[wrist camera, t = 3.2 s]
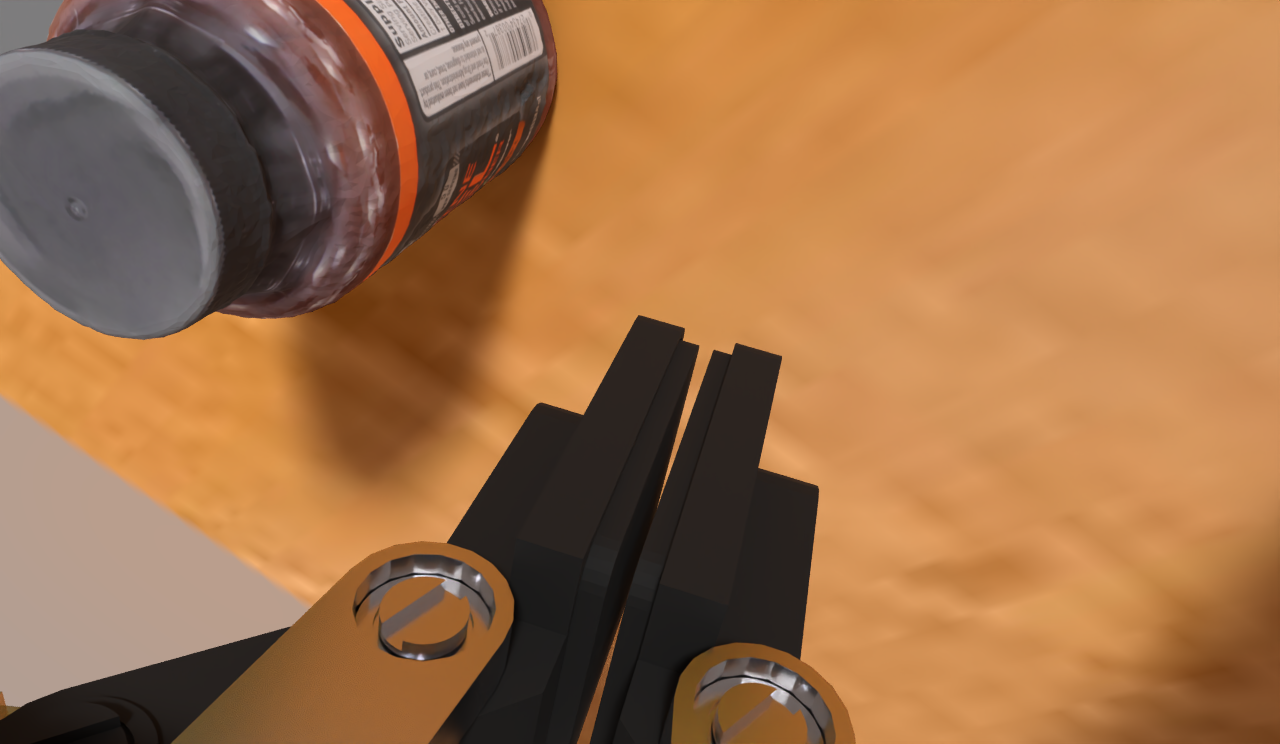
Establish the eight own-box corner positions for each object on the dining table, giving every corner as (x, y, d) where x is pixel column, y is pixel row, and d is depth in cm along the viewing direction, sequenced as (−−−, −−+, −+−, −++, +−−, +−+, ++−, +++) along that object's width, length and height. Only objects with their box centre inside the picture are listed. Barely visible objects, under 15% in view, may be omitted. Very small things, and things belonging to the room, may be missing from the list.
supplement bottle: (455, 219, 24) (145, 471, 14) (286, 31, 22) (-184, 169, 13) (619, 69, 21) (367, 261, 11) (436, -159, 19) (-31, -161, 10)
